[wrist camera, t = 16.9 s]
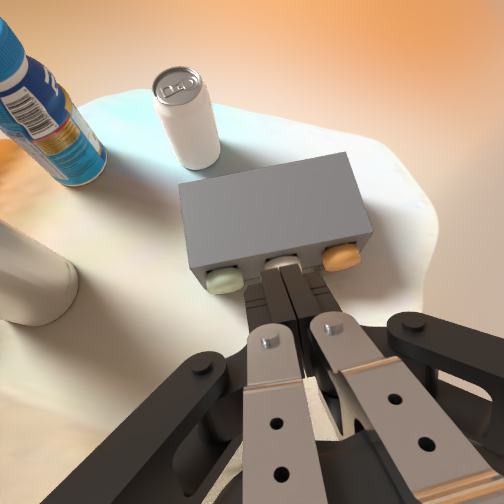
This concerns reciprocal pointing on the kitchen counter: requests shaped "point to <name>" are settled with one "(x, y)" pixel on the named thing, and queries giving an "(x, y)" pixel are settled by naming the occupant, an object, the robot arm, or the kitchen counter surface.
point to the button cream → (282, 261)
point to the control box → (272, 215)
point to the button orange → (341, 257)
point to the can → (187, 116)
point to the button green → (224, 280)
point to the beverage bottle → (45, 117)
